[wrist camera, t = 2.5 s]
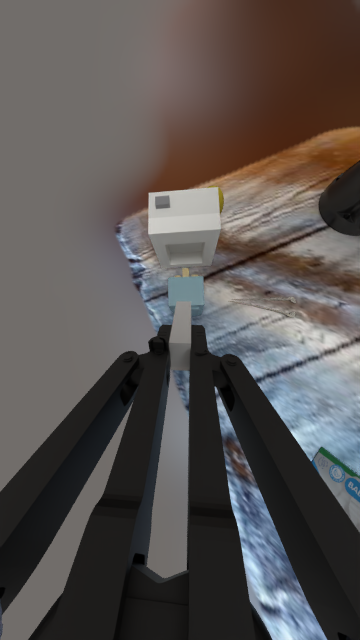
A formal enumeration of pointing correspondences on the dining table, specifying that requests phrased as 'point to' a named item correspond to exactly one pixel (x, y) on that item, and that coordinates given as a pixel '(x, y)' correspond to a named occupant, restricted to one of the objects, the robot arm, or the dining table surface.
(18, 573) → the robot arm
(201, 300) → the plug
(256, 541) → the dining table surface
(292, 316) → the tweezers
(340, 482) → the milk carton
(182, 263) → the socket
